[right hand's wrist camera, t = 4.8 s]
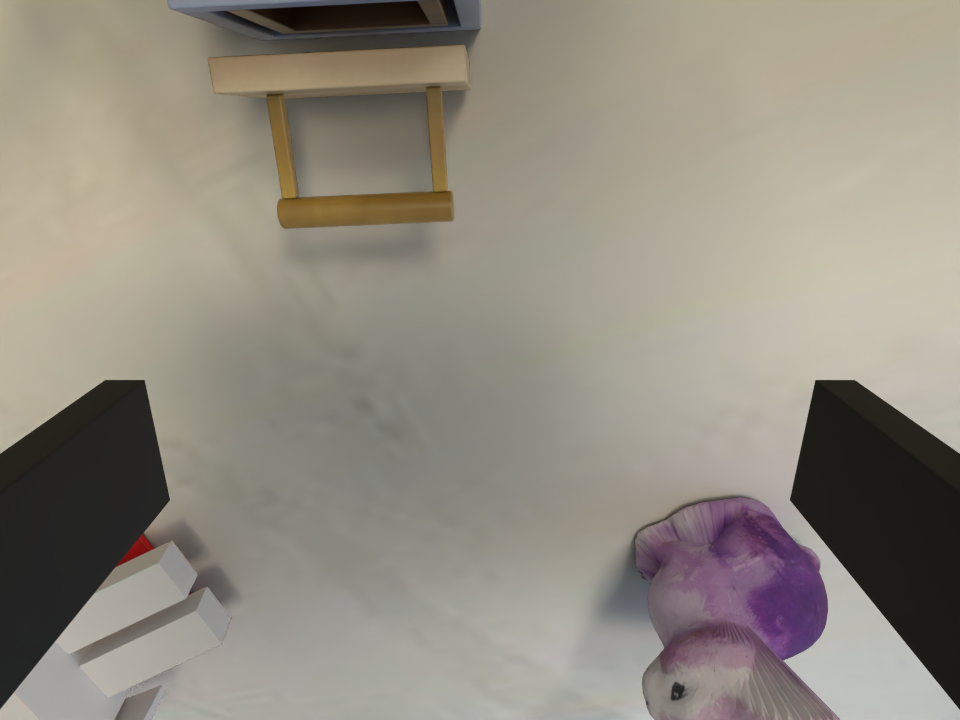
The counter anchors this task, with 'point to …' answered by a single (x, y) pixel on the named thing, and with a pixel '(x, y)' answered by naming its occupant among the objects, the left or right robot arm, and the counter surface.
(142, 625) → the toy
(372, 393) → the counter surface
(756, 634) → the figurine
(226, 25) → the cabinet
